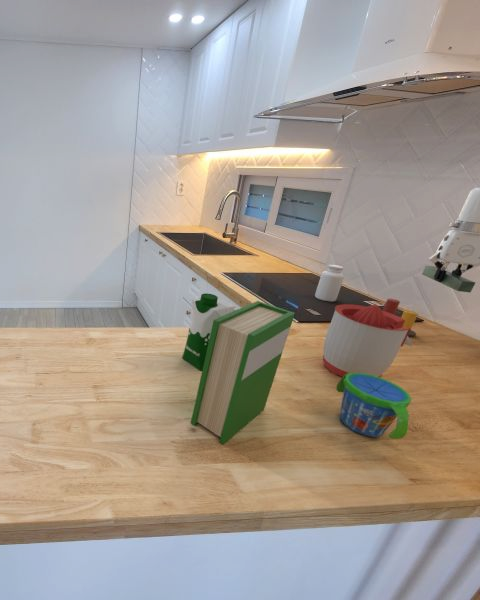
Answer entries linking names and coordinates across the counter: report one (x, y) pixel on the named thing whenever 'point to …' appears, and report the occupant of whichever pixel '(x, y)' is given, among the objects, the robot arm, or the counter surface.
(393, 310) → the red post
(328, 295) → the pill bottle
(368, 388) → the snack cup
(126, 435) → the counter surface
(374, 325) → the citrus juicer
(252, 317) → the hardback book
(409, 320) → the mustard post
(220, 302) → the milk carton
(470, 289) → the bar
